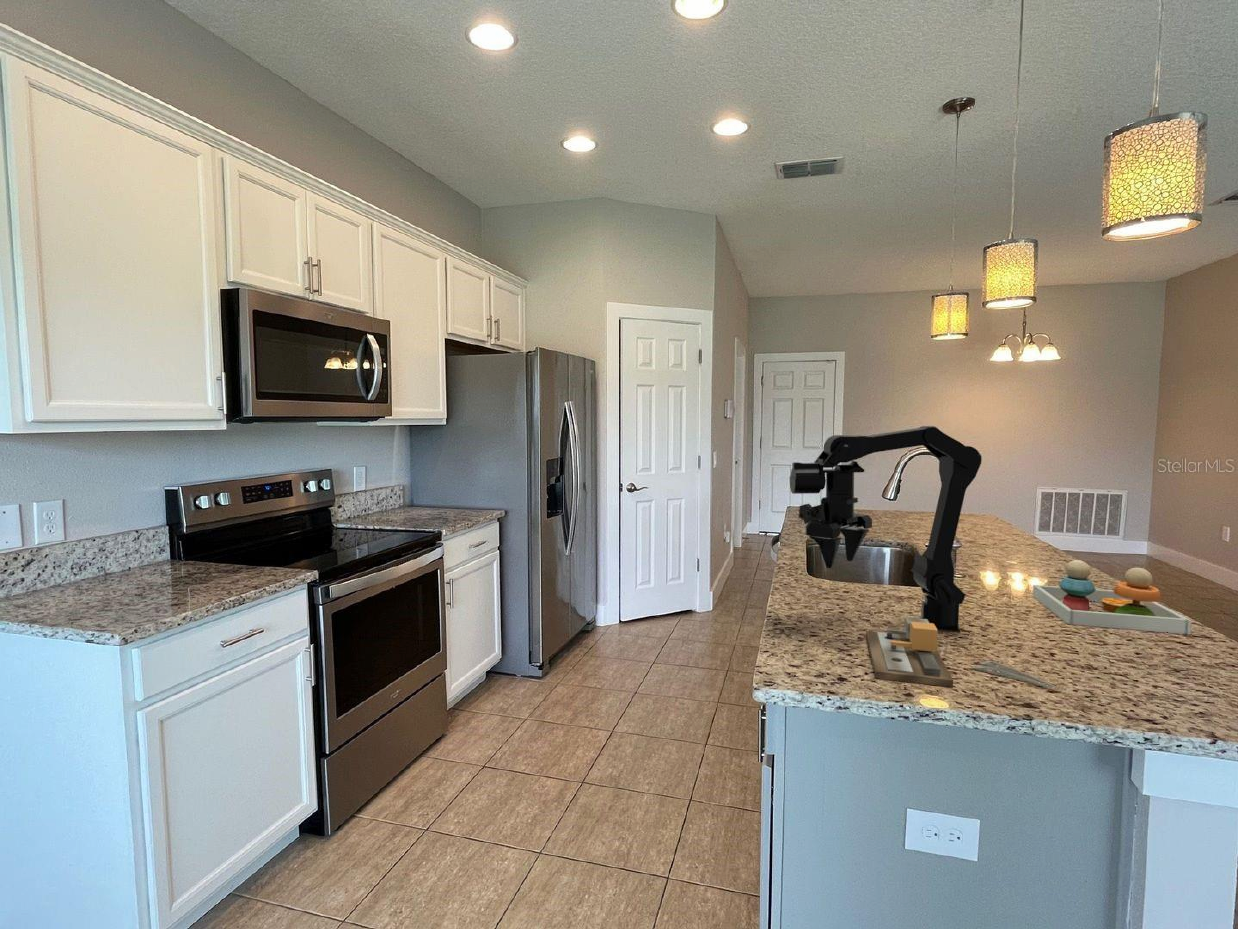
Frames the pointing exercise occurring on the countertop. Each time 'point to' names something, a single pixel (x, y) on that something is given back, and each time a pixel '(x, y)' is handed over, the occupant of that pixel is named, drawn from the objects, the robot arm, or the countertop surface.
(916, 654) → the board
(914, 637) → the orange block with tab
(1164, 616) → the parts tray
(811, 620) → the countertop surface
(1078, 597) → the colourful wooden stacking toy
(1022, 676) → the grey tweezers
